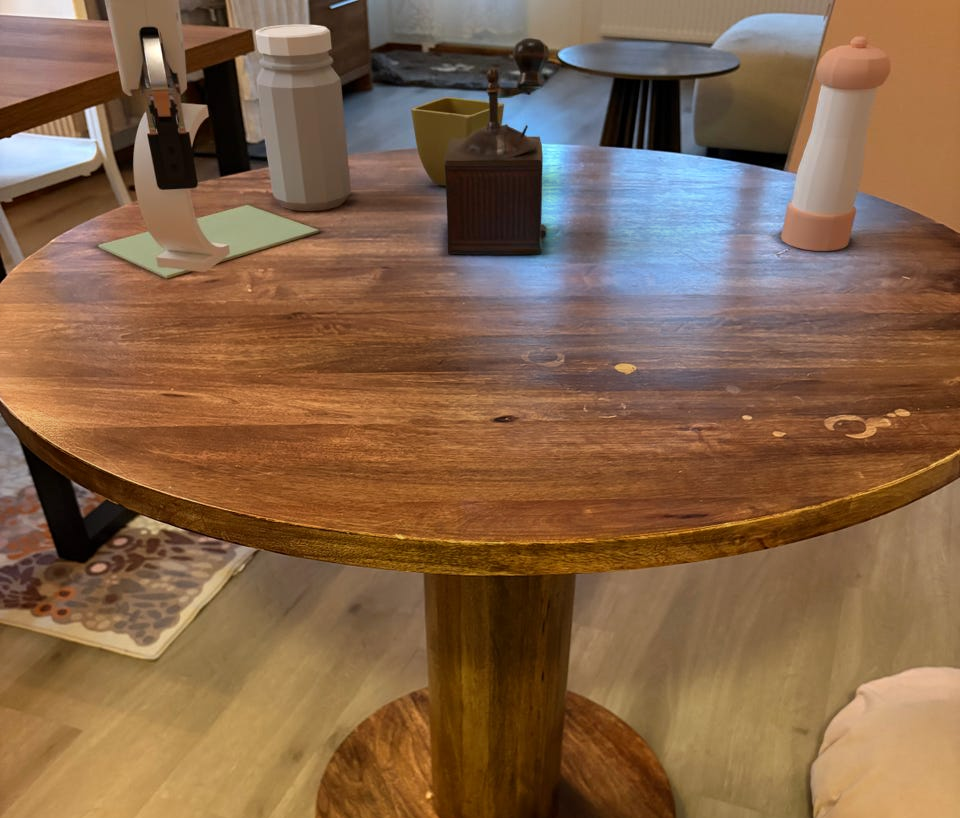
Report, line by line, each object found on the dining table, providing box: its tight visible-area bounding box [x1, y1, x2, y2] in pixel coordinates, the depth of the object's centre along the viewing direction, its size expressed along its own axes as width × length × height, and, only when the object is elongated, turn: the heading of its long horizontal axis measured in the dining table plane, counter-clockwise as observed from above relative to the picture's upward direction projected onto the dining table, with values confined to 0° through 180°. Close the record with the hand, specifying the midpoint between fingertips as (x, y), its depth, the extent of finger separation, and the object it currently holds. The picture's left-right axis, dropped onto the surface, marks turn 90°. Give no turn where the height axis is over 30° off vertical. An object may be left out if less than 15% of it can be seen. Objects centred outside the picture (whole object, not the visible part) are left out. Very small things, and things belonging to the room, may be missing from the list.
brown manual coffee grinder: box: [445, 37, 550, 255], centre depth 99 cm, size 16×11×18 cm
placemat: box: [97, 204, 320, 279], centre depth 103 cm, size 20×14×1 cm
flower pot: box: [410, 96, 505, 187], centre depth 117 cm, size 9×9×9 cm
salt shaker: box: [780, 35, 891, 252], centre depth 96 cm, size 7×7×19 cm
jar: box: [254, 23, 352, 212], centre depth 108 cm, size 10×10×18 cm
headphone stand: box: [132, 102, 230, 273], centre depth 78 cm, size 5×6×12 cm
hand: (176, 173), depth 77 cm, fingers closed on headphone stand, 7 cm apart
